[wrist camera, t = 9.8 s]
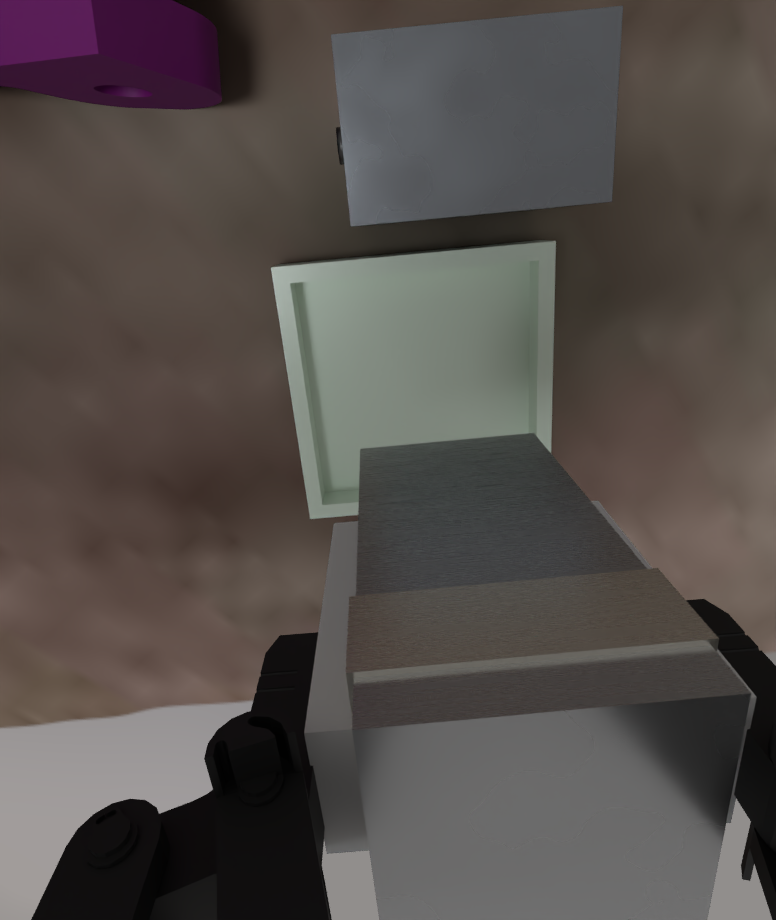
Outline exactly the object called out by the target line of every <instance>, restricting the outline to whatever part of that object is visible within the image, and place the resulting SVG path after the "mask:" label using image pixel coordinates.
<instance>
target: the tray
mask: <svg viewBox="0 0 776 920" xmlns="http://www.w3.org/2000/svg"><path fill="white" fill-rule="evenodd" d="M555 259H556V241H551V240H534V241H523V242H513V243H502V244H491V245H481V246H470V247H459V248H448V249H438V250H427V251H416V252H405V253H395V254H384V255H373V256H363V257H352V258H341V259H330V260H320V261H309V262H298V263H288V264H278V265H276V266H273V267H271V272H272V278H273V284H274V291H275V297H276V304H277V310H278V316H279V323H280V329H281V336H282V342H283V348H284V355H285V361H286V368H287V374H288V380H289V387H290V393H291V400H292V406H293V412H294V419H295V425H296V432H297V438H298V444H299V451H300V457H301V464H302V470H303V476H304V483H305V489H306V496H307V502H308V508H309V515H310V519H317V518H328V517H340V516H351V515H358V509H359V474H360V449H363V448H374V447H385V446H396V445H407V444H418V443H429V442H439V441H450V440H461V439H472V438H483V437H494V436H505V435H516V434H527V433H534V434H535V435H536V436H537V437H538V439H539V440H540V441H541V442H542V443H543V445H544V446H545V447H546V448H547V449H548V451H549V452H550V453H551V435H552V391H553V347H554V303H555Z"/></svg>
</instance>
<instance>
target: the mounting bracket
mask: <svg viewBox="0 0 776 920" xmlns="http://www.w3.org/2000/svg"><path fill="white" fill-rule="evenodd" d="M0 86H6V87H14V88H19V89H24V90H28V91H33V92H37V93H42V94H46V95H51V96H55V97H60V98H64V99H69V100H75V101H80V102H86V103H93V104H100V105H108V106H117V107H128V108H158V109H197V108H205V107H210V106H214V105H216V104H219V103H220V102H221V101H222V93H221V80H220V66H219V52H218V38H217V29H216V27H215V26H214V24H213V23H212V22H211V21H210V20H208V19H207V18H206V17H204V16H203V15H201V14H199V13H198V12H196V11H194V10H192V9H190V8H188V7H185V6H183V5H181V4H179V3H177V2H175V1H173V0H0Z"/></svg>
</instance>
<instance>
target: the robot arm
mask: <svg viewBox="0 0 776 920" xmlns="http://www.w3.org/2000/svg"><path fill="white" fill-rule="evenodd" d="M591 502H592V503H593V504H594V506H595V507H596V508H597V509H598V510H599V512H600V513H601V514H602V515H603V516H604V518H605V519H606V520H607V521H608V522H609V524H610V525H611V526H612V527H613V528H614V530H615V531H616V532H617V533H618V534H619V536H620V537H621V538H622V539H623V540H624V542H625V543H626V544H627V545H628V546H629V548H630V549H631V550H632V551H633V552H634V554H635V555H636V556H637V557H638V558H639V560H640V561H641V562H642V563H643V564H644V566H645V567H646V568H647V569H652V567H651V566H650V564H649V563H648V562H647V561H646V560H645V558H644V557H643V556H642V555H641V553H640V552H639V551H638V550H637V548H636V547H635V546H634V545H633V543H632V542H631V541H630V540H629V539H628V537H627V536H626V535H625V534H624V532H623V531H622V530H621V529H620V527H619V526H618V525H617V524H616V522H615V521H614V520H613V519H612V517H611V516H610V515H609V514H608V513H607V511H606V510H605V509H604V508H603V506H602V505H601V504H600V503H599V501H591ZM357 543H358V521H354V522H342V523H334V526H333V533H332V540H331V547H330V554H329V561H328V568H327V575H326V582H325V589H324V596H323V603H322V610H321V618H320V625H319V632H317V633H305V634H293V635H281V636H279V637H278V639H277V640H276V641H275V642H274V644H273V645H272V646H271V647H270V649H269V650H268V651H267V652H266V654H265V658H264V662H263V666H262V670H261V677H260V678H259V681H258V685H257V693H255V697H254V701H253V705H252V709H251V711H250V712H246V713H244V714H242V715H239V716H237V717H235V718H232V719H231V720H229V721H228V722H227V723H226V724H225V725H223V726H222V727H221V728H219V729H218V730H217V731H216V733H215V735H214V736H213V737H212V739H211V740H210V741H209V743H208V746H207V750H206V754H205V758H204V759H205V762H206V765H207V769H208V773H209V776H210V780H211V783H212V787H213V790H212V791H211V792H209V793H208V794H206V795H205V796H203V797H201V798H198V799H196V800H194V801H192V802H190V803H187V804H184V805H182V806H179V807H176V808H174V809H171V810H168V811H166V812H163V813H161V814H159V813H158V811H157V808H156V807H155V806H153V805H152V804H150V803H149V802H147V801H146V800H137V799H128V800H124V801H120V802H116V803H113V804H111V805H109V806H107V807H105V808H104V809H102V810H100V811H98V812H97V813H95V814H94V815H93V816H92V817H90V818H89V819H88V820H87V821H86V822H85V823H84V824H83V825H82V826H80V828H78V830H77V831H76V832H75V834H74V835H73V837H72V838H71V840H70V842H69V843H68V845H67V846H66V848H65V850H64V852H63V854H62V857H61V858H60V861H59V863H58V865H57V867H56V869H55V871H54V873H53V875H52V877H51V879H50V882H49V884H48V886H47V888H46V890H45V892H44V894H43V896H42V898H41V900H40V903H39V905H38V907H37V909H36V911H35V913H34V915H33V917H32V919H31V920H332V919H331V914H330V908H329V902H328V897H327V892H326V886H325V880H324V875H323V871H322V854H323V853H322V852H323V842H324V841H325V846H326V851H327V854H328V853H341V852H355V851H368V850H369V844H368V837H367V830H366V824H365V817H364V810H363V803H362V796H361V789H360V782H359V775H358V768H357V761H356V754H355V747H354V740H353V733H352V714H351V707H350V700H349V693H348V686H347V679H346V655H347V634H348V613H349V596H356V578H357ZM686 601H687V602H688V603H689V605H690V606H691V607H692V608H693V609H694V610H695V612H696V613H697V614H698V615H699V616H700V617H701V618H702V620H703V621H704V622H705V623H706V624H707V625H708V626H709V628H710V629H711V630H712V631H713V632H714V633H715V635H716V636H717V637H718V638H719V642H718V648H717V653H718V654H719V655H720V656H721V658H722V659H723V660H724V661H725V662H726V664H727V665H728V666H729V667H730V668H731V670H732V671H733V672H734V673H735V674H736V676H737V677H738V678H739V679H740V680H741V682H742V683H743V684H744V685H745V686H746V688H747V689H748V690H749V691H750V692H751V698H750V703H749V708H748V713H747V718H746V723H745V728H744V733H743V739H742V744H741V749H740V754H739V759H738V764H737V769H736V774H735V780H734V785H733V790H732V795H731V800H730V805H729V810H728V816H727V821H726V823H731V819H732V814H733V809H734V805H735V800H736V798H737V800H738V801H739V803H740V805H741V806H742V808H743V809H744V811H745V813H746V814H747V816H748V817H749V819H750V821H751V824H750V828H749V833H748V837H747V842H746V846H745V850H744V855H743V859H742V864H741V869H742V879H744V880H749V881H750V879H751V875H752V870H753V866H754V864H755V866H756V870H757V873H758V876H759V879H760V882H761V885H762V888H763V892H764V895H765V898H766V901H767V904H768V907H769V910H770V913H771V916H772V920H776V666H775V665H774V664H773V663H772V661H771V660H770V659H769V658H768V657H767V656H766V655H765V654H764V653H763V652H762V651H759V649H758V646H757V645H756V644H755V643H754V642H753V641H752V639H751V638H750V637H749V636H748V635H745V632H744V631H743V630H742V628H741V627H740V626H739V625H738V624H737V623H736V622H735V621H734V620H733V619H732V617H731V616H730V615H729V614H728V613H726V612H724V611H723V610H721V609H720V608H718V607H716V606H715V605H713V604H711V603H710V602H708V601H706V600H705V599H698V600H686Z"/></svg>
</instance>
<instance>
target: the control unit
mask: <svg viewBox="0 0 776 920" xmlns="http://www.w3.org/2000/svg"><path fill="white" fill-rule="evenodd" d="M622 14H623V6H615V7H605V8H595V9H585V10H575V11H565V12H554V13H544V14H534V15H524V16H514V17H504V18H494V19H484V20H474V21H463V22H453V23H443V24H433V25H423V26H413V27H403V28H393V29H383V30H372V31H362V32H352V33H342V34H332V35H331V40H332V49H333V59H334V69H335V78H336V88H337V98H338V107H339V117H340V127H337V128H336V134H337V145H338V153H339V160H340V165H342V164H344V165H345V175H346V185H347V194H348V204H349V214H350V223H351V226H368V225H379V224H389V223H400V222H411V221H421V220H432V219H443V218H453V217H464V216H474V215H485V214H496V213H506V212H517V211H528V210H538V209H547V208H557V207H566V206H576V205H585V204H595V203H604V202H612V192H613V174H614V156H615V138H616V121H617V103H618V85H619V67H620V49H621V31H622Z"/></svg>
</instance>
